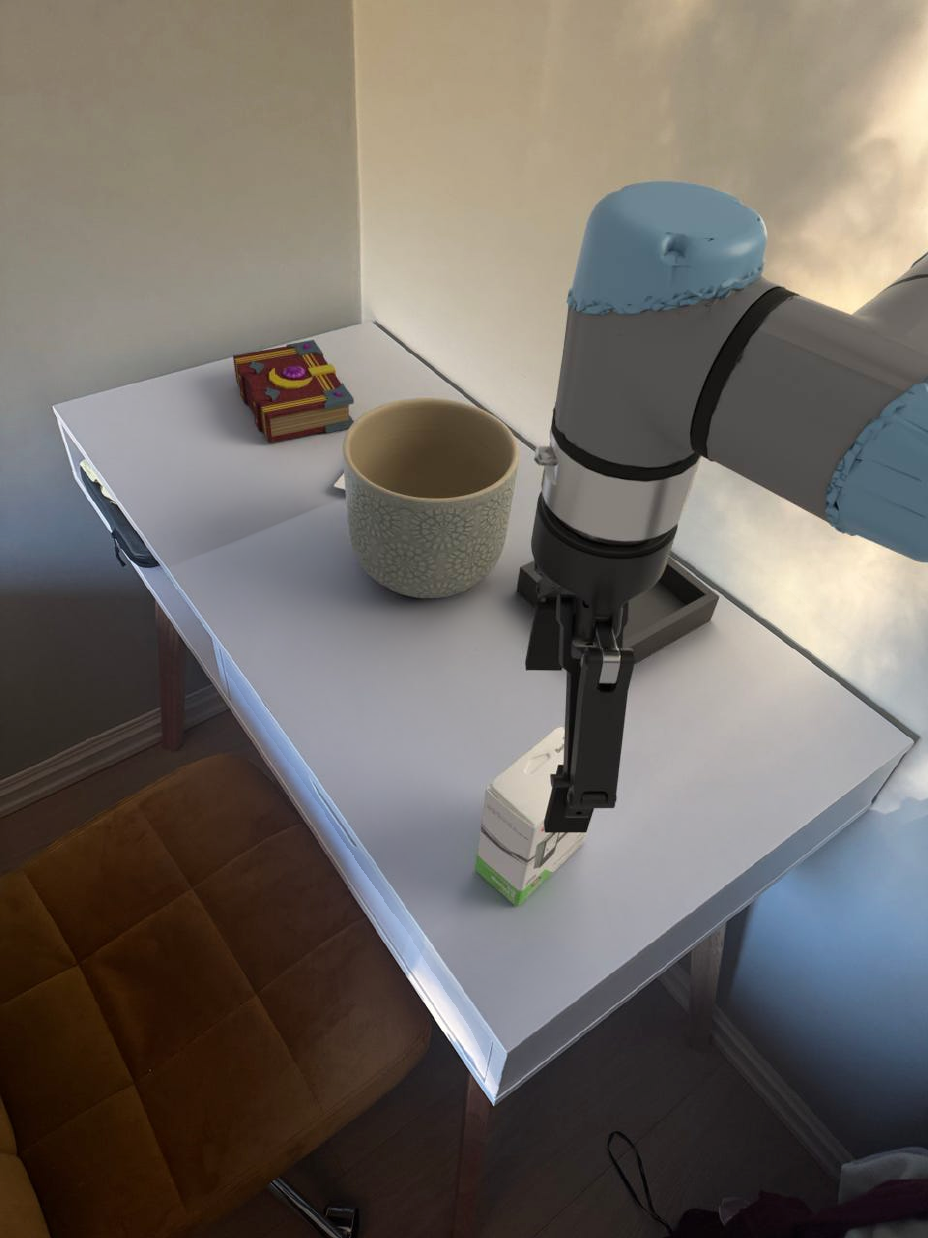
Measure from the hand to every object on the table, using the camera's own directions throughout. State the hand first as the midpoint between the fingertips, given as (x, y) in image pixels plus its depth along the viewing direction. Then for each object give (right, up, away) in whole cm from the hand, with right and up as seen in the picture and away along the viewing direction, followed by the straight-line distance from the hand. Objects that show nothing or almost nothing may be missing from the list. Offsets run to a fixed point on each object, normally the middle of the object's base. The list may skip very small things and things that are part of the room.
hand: (553, 741), depth 63 cm
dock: (+9, +10, +32) cm, 35 cm away
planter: (-10, +14, +35) cm, 39 cm away
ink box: (-1, -11, +11) cm, 16 cm away
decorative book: (-28, +36, +54) cm, 71 cm away
